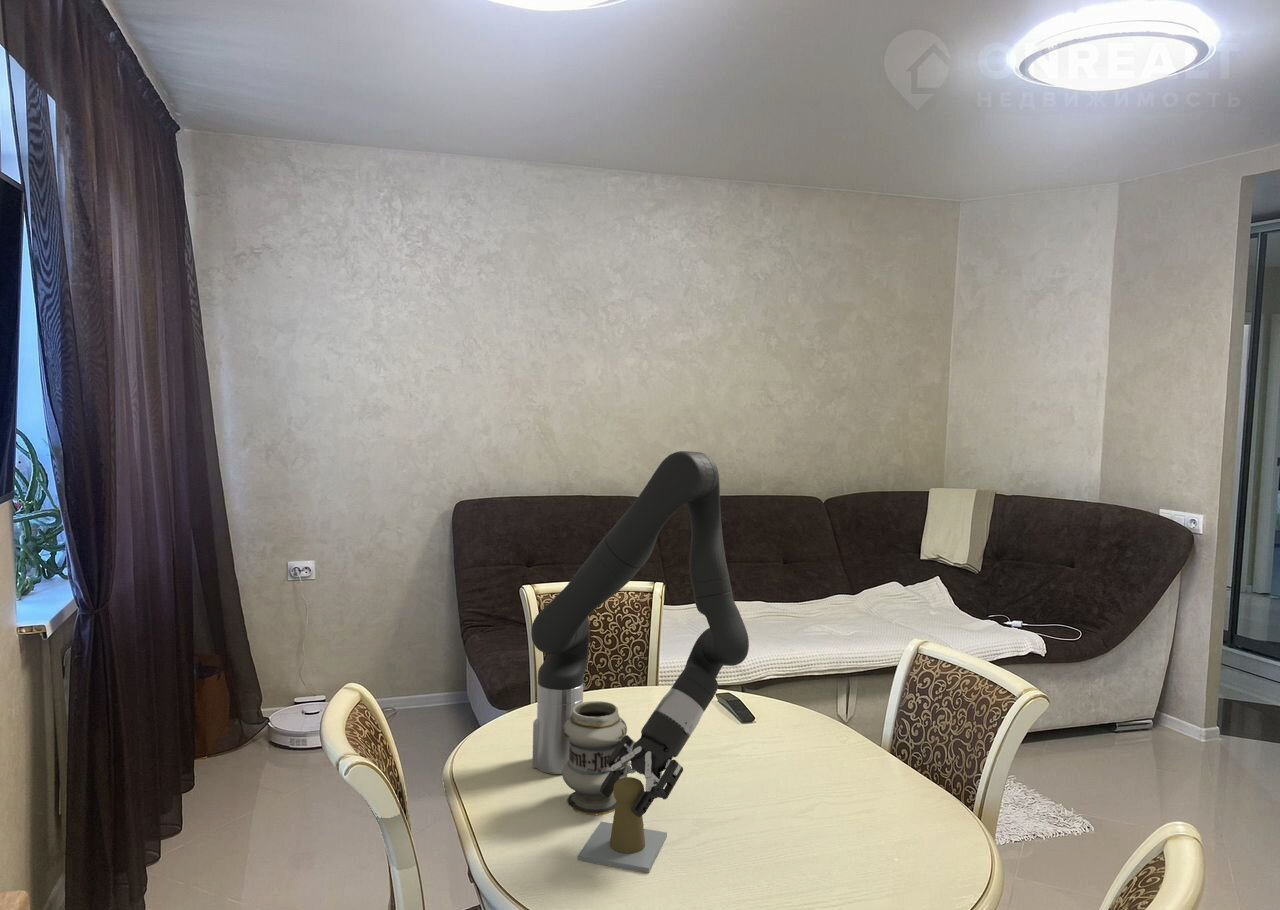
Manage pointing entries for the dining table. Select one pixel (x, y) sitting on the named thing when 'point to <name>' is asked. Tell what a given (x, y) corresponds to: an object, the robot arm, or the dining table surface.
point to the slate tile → (605, 855)
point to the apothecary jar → (591, 754)
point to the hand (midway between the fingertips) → (619, 804)
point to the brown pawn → (627, 817)
